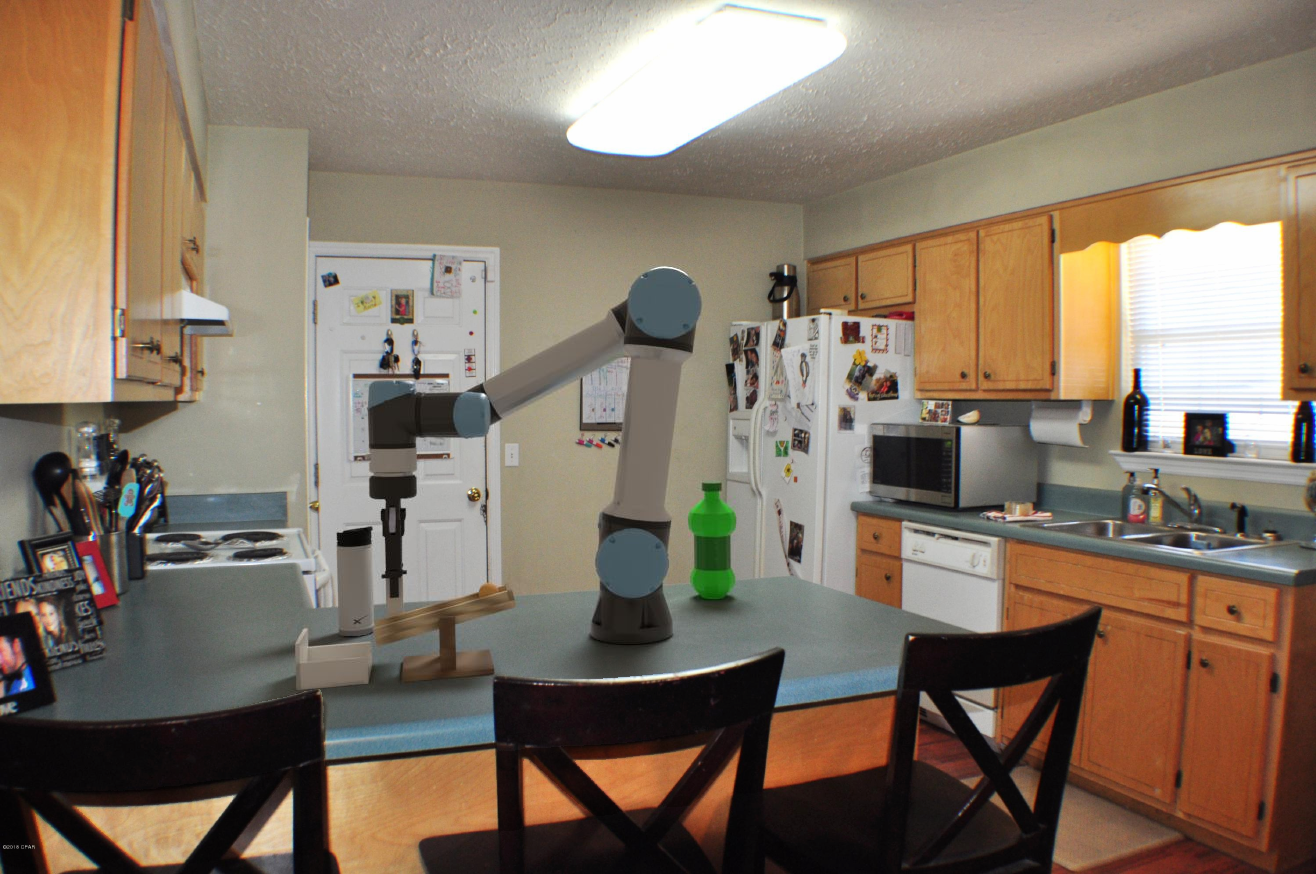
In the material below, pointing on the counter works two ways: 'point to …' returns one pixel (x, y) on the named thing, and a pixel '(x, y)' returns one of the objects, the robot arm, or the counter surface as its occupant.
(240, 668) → the counter surface
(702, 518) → the plastic bottle
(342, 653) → the white open box
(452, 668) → the stand
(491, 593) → the ball
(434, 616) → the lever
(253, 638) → the counter surface
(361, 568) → the travel mug
